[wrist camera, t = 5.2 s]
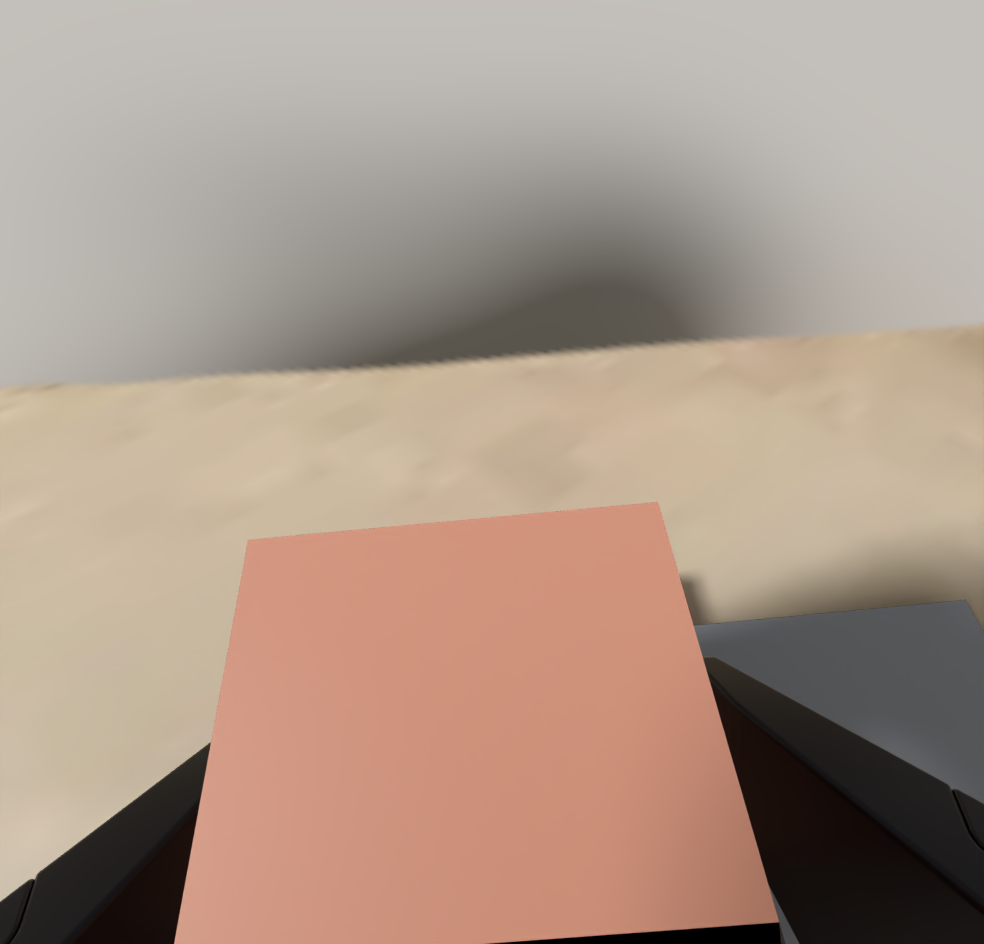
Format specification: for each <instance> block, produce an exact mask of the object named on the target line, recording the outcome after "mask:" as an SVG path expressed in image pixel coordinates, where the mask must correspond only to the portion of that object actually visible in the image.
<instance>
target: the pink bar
mask: <svg viewBox="0 0 984 944" xmlns="http://www.w3.org/2000/svg"><path fill="white" fill-rule="evenodd" d="M174 944H781V936H780V925H779V920H778V916H777V913H776V909H775V906H774V902H773V899H772V895H771V892H770V889H769V885H768V882H767V878H766V875H765V871H764V868H763V864H762V861H761V857H760V854H759V850H758V847H757V844H756V840H755V837H754V833H753V830H752V826H751V823H750V819H749V816H748V812H747V809H746V805H745V802H744V799H743V795H742V792H741V788H740V785H739V781H738V778H737V774H736V771H735V767H734V764H733V760H732V757H731V753H730V750H729V747H728V743H727V740H726V736H725V733H724V729H723V726H722V722H721V719H720V715H719V712H718V708H717V705H716V702H715V698H714V695H713V691H712V688H711V684H710V681H709V677H708V674H707V670H706V667H705V663H704V660H703V657H702V653H701V650H700V646H699V643H698V639H697V636H696V632H695V629H694V625H693V622H692V618H691V615H690V611H689V608H688V605H687V601H686V598H685V594H684V591H683V587H682V584H681V580H680V577H679V573H678V570H677V566H676V563H675V560H674V556H673V553H672V549H671V546H670V542H669V539H668V535H667V532H666V528H665V525H664V521H663V518H662V515H661V511H660V508H659V504H658V502H653V503H642V504H632V505H621V506H610V507H599V508H588V509H577V510H567V511H556V512H545V513H534V514H523V515H512V516H502V517H491V518H480V519H469V520H458V521H447V522H437V523H426V524H415V525H404V526H393V527H382V528H372V529H361V530H350V531H339V532H328V533H317V534H307V535H296V536H285V537H274V538H263V539H252V540H248V544H247V549H246V555H245V560H244V565H243V571H242V576H241V582H240V587H239V593H238V598H237V604H236V609H235V615H234V620H233V625H232V631H231V636H230V642H229V647H228V653H227V658H226V664H225V669H224V675H223V680H222V685H221V691H220V696H219V702H218V707H217V713H216V718H215V724H214V729H213V734H212V740H211V745H210V751H209V756H208V762H207V767H206V773H205V778H204V783H203V789H202V794H201V800H200V805H199V811H198V816H197V822H196V827H195V833H194V838H193V843H192V849H191V854H190V860H189V865H188V871H187V876H186V882H185V887H184V892H183V898H182V903H181V909H180V914H179V920H178V925H177V931H176V936H175V942H174Z"/></svg>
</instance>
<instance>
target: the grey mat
mask: <svg viewBox="0 0 984 944" xmlns="http://www.w3.org/2000/svg"><path fill="white" fill-rule="evenodd" d="M694 629H695V632H696V636H697V639H698V643H699V646H700V650H701V653H702V657H705V656H714V657H716V658H718V659H720V660H722V661H724V662H726V663H728V664H729V665H731V666H733V667H735V668H737V669H738V670H740V671H742V672H744V673H746V674H748V675H749V676H751V677H753V678H755V679H757V680H759V681H760V682H762V683H764V684H766V685H768V686H770V687H771V688H773V689H775V690H777V691H779V692H781V693H782V694H784V695H786V696H788V697H790V698H792V699H793V700H795V701H797V702H799V703H801V704H803V705H804V706H806V707H808V708H810V709H812V710H813V711H815V712H817V713H819V714H821V715H823V716H824V717H826V718H828V719H830V720H832V721H834V722H835V723H837V724H839V725H841V726H843V727H845V728H846V729H848V730H850V731H852V732H854V733H856V734H857V735H859V736H861V737H863V738H865V739H867V740H868V741H870V742H872V743H874V744H876V745H878V746H879V747H881V748H883V749H885V750H887V751H889V752H890V753H892V754H894V755H896V756H898V757H899V758H901V759H903V760H905V761H907V762H909V763H910V764H912V765H914V766H916V767H918V768H920V769H921V770H923V771H925V772H927V773H929V774H931V775H932V776H934V777H936V778H938V779H940V780H942V781H943V782H945V783H947V784H948V785H949V786H950V787H951V789H952V790H953V789H958V790H960V791H962V792H964V793H966V794H968V795H969V796H971V797H973V798H975V799H977V800H978V801H980V802H982V803H984V631H983V629H982V627H981V626H980V624H979V622H978V620H977V619H976V617H975V615H974V614H973V612H972V610H971V608H970V607H969V605H968V603H967V602H966V600H958V601H947V602H937V603H926V604H916V605H905V606H895V607H884V608H874V609H863V610H853V611H842V612H832V613H821V614H811V615H800V616H790V617H779V618H769V619H758V620H748V621H737V622H727V623H716V624H706V625H695V626H694ZM769 889H770V887H769ZM770 892H771V895H772V899H773V902H774V906H775V909H776V913H777V916H778V920H779V925H780V936H781V944H799V942H798V940H797V938H796V937H795V935H794V933H793V931H792V929H791V927H790V925H789V923H788V921H787V919H786V917H785V916H784V914H783V912H782V910H781V908H780V906H779V904H778V902H777V900H776V898H775V897H774V895H773V893H772V891H771V889H770Z"/></svg>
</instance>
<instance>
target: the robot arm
mask: <svg viewBox="0 0 984 944" xmlns="http://www.w3.org/2000/svg"><path fill="white" fill-rule="evenodd" d="M703 660H704V663H705V667H706V670H707V674H708V677H709V681H710V684H711V688H712V691H713V695H714V698H715V702H716V705H717V708H718V712H719V715H720V719H721V722H722V726H723V729H724V733H725V736H726V740H727V743H728V747H729V750H730V753H731V757H732V760H733V764H734V767H735V771H736V774H737V778H738V781H739V785H740V788H741V792H742V795H743V799H744V802H745V805H746V809H747V812H748V816H749V819H750V823H751V826H752V830H753V833H754V837H755V840H756V844H757V847H758V850H759V854H760V857H761V861H762V864H763V868H764V871H765V875H766V878H767V882H768V885H769V887H770V889H771V891H772V893H773V895H774V897H775V898H776V900H777V902H778V904H779V906H780V908H781V910H782V912H783V914H784V916H785V917H786V919H787V921H788V923H789V925H790V927H791V929H792V931H793V933H794V935H795V937H796V938H797V940H798V942H799V944H984V803H982V802H980V801H978V800H977V799H975V798H973V797H971V796H969V795H968V794H966V793H964V792H962V791H960V790H958V789H953V790H952V789H951V787H950V786H949V785H948V784H947V783H945V782H943V781H942V780H940V779H938V778H936V777H934V776H932V775H931V774H929V773H927V772H925V771H923V770H921V769H920V768H918V767H916V766H914V765H912V764H910V763H909V762H907V761H905V760H903V759H901V758H899V757H898V756H896V755H894V754H892V753H890V752H889V751H887V750H885V749H883V748H881V747H879V746H878V745H876V744H874V743H872V742H870V741H868V740H867V739H865V738H863V737H861V736H859V735H857V734H856V733H854V732H852V731H850V730H848V729H846V728H845V727H843V726H841V725H839V724H837V723H835V722H834V721H832V720H830V719H828V718H826V717H824V716H823V715H821V714H819V713H817V712H815V711H813V710H812V709H810V708H808V707H806V706H804V705H803V704H801V703H799V702H797V701H795V700H793V699H792V698H790V697H788V696H786V695H784V694H782V693H781V692H779V691H777V690H775V689H773V688H771V687H770V686H768V685H766V684H764V683H762V682H760V681H759V680H757V679H755V678H753V677H751V676H749V675H748V674H746V673H744V672H742V671H740V670H738V669H737V668H735V667H733V666H731V665H729V664H728V663H726V662H724V661H722V660H720V659H718V658H716V657H714V656H705V657H703ZM210 745H211V742H210V743H209V744H208V745H206V746H205V747H204V748H202V749H201V750H200V751H198V752H197V753H196V754H195V755H193V756H192V757H191V758H189V759H188V760H187V761H185V762H184V763H183V764H181V765H180V766H179V767H177V768H176V769H175V770H173V771H172V772H171V773H169V774H168V775H167V776H166V777H164V778H163V779H162V780H160V781H159V782H158V783H156V784H155V785H154V786H152V787H151V788H150V789H148V790H147V791H146V792H144V793H143V794H142V795H140V796H139V797H138V798H137V799H135V800H134V801H133V802H131V803H130V804H129V805H127V806H126V807H125V808H123V809H122V810H121V811H119V812H118V813H117V814H115V815H114V816H113V817H111V818H110V819H109V820H108V821H106V822H105V823H104V824H102V825H101V826H100V827H98V828H97V829H96V830H94V831H93V832H92V833H90V834H89V835H88V836H86V837H85V838H84V839H82V840H81V841H80V842H78V843H77V844H76V845H75V846H73V847H72V848H71V849H69V850H68V851H67V852H65V853H64V854H63V855H61V856H60V857H59V858H57V859H56V860H55V861H53V862H52V863H51V864H49V865H48V866H47V867H46V868H44V869H43V870H42V871H40V872H39V873H38V874H37V876H36V878H35V880H34V879H30V880H28V881H27V882H26V883H24V884H23V885H22V886H20V887H19V888H18V889H16V890H15V891H14V892H12V893H11V894H10V895H9V896H7V897H6V898H5V899H3V900H2V901H1V902H0V944H174V942H175V936H176V931H177V925H178V920H179V914H180V909H181V903H182V898H183V892H184V887H185V882H186V876H187V871H188V865H189V860H190V854H191V849H192V843H193V838H194V833H195V827H196V822H197V816H198V811H199V805H200V800H201V794H202V789H203V783H204V778H205V773H206V767H207V762H208V756H209V751H210Z"/></svg>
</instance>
